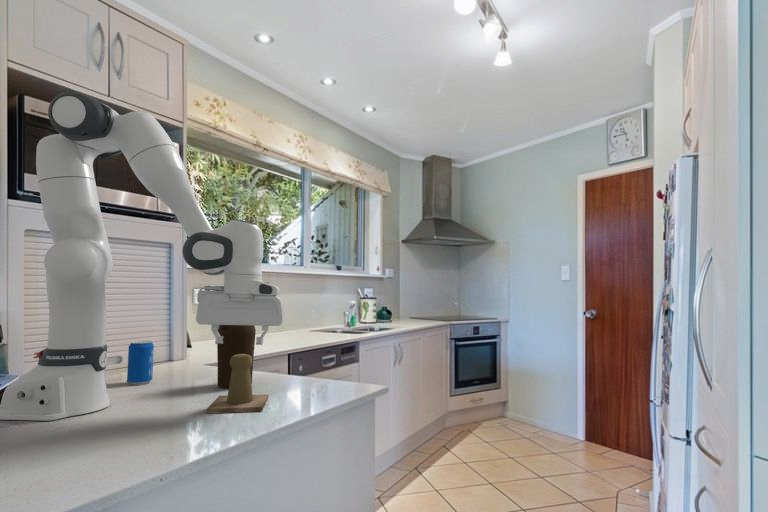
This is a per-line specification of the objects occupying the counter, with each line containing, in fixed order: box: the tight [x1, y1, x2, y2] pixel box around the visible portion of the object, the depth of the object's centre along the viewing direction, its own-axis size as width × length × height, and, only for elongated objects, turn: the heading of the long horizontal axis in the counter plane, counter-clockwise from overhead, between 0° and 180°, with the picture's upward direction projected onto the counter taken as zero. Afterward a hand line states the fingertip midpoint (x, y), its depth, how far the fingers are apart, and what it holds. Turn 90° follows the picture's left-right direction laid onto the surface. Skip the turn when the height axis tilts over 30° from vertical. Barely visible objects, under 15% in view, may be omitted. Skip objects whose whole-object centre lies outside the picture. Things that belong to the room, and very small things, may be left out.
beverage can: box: [126, 340, 155, 386], centre depth 129 cm, size 6×6×12 cm
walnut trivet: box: [206, 393, 269, 414], centre depth 105 cm, size 12×12×1 cm
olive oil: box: [216, 325, 257, 390], centre depth 127 cm, size 11×11×25 cm
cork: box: [227, 354, 254, 404], centre depth 106 cm, size 6×6×11 cm
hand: (239, 344), depth 106 cm, fingers open, 8 cm apart
